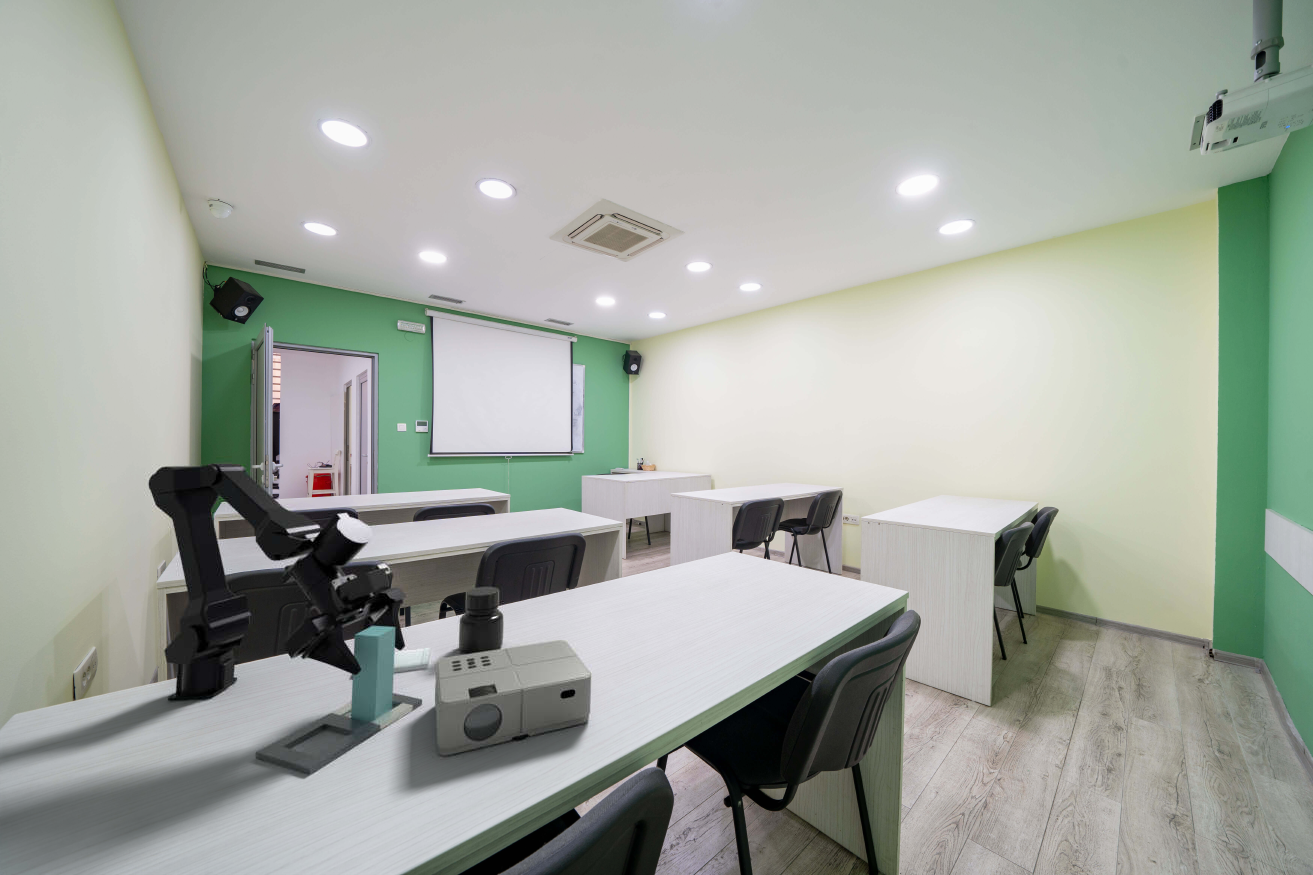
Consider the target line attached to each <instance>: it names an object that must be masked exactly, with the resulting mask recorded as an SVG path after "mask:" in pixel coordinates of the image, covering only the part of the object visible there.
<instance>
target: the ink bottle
mask: <svg viewBox="0 0 1313 875" xmlns="http://www.w3.org/2000/svg"><path fill="white" fill-rule="evenodd" d="M464 602H465V604H464V605H465V613H463V614H462V615H461V617H460V619H459V623H458V624H459V626H458V627H459V630H458V650H459V651H460V653H461V654H463V655H466V654H472V653H479V652H485V651H492V650H498V649H501V647H502V645H503V642H504V641H503V639H504V614H503V612H502V611H500V610H499V606H500V589H499V588H498V587H494V586H482V587H480V586H479V587H474V588H469V590H468V589H467V591H465V601H464Z"/></svg>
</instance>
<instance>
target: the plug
mask: <svg viewBox="0 0 1313 875" xmlns="http://www.w3.org/2000/svg"><path fill="white" fill-rule="evenodd" d="M370 626H371V625H370ZM370 626H369V627H368V628H366V629H364V630H362V631H360V632H357V633H356V634H354V641H353V644H354V645H353V655H354V657H355V658H356V660H357V661H358V663H359V665H360V667H361V671H360V672H359V673H358V674H357V675H354V674H352V684H351V686H352V687H351V690H352V691H351V702H352V705H351V715H350V718H354V719H358V720H362V721H366V722H372V721H374V720H375V719H377V718H379V717H380V716H382V715H384V714H385V713H387V712H389V711H390V710H392V709H393V706H392V699H393V693H394V675H395V674H394V652H396V651H395V650H396V648H395V627H384V626H371V627H370Z"/></svg>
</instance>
